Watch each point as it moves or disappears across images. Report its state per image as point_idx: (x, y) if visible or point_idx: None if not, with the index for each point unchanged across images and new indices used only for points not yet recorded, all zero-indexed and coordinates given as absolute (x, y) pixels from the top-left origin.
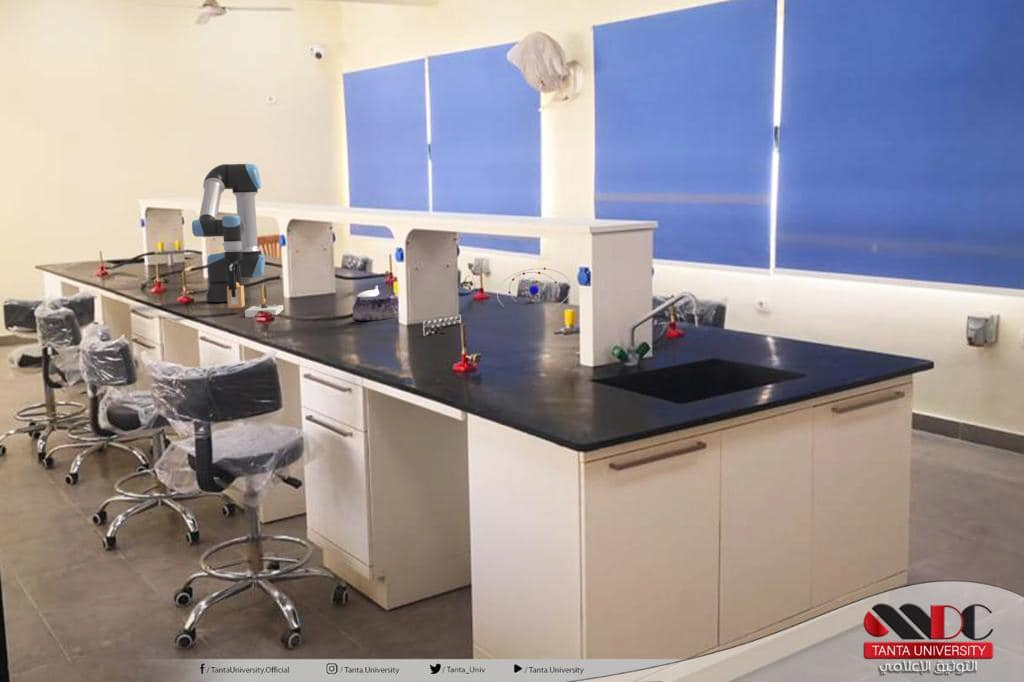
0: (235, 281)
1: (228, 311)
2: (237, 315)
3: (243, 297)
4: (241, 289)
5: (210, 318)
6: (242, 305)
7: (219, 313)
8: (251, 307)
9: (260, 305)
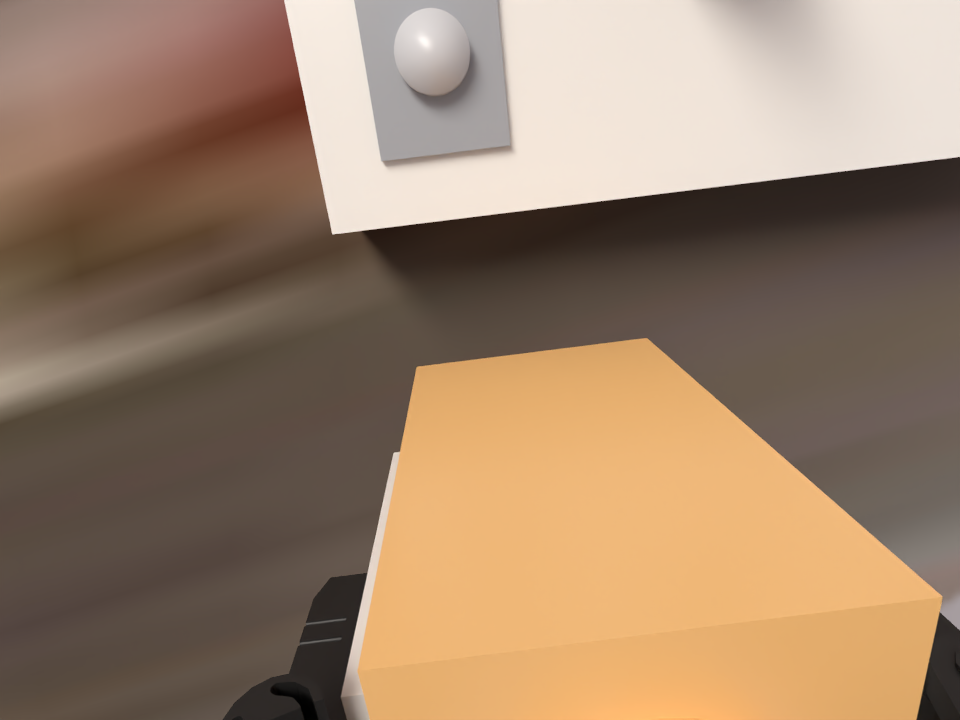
0: None
1: (229, 594)
2: (679, 348)
3: (492, 424)
4: (753, 531)
5: (911, 552)
6: (602, 352)
7: None
8: (604, 182)
9: (464, 33)
